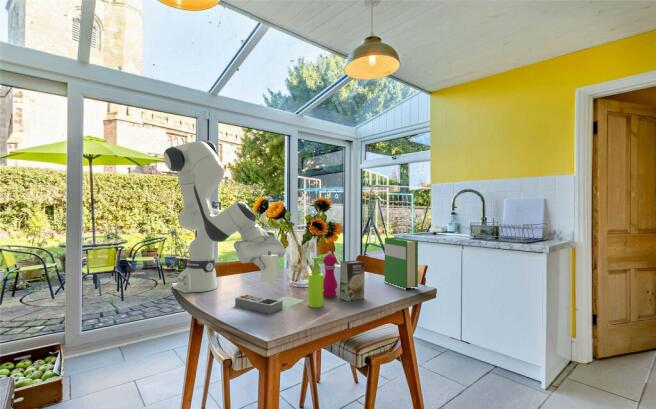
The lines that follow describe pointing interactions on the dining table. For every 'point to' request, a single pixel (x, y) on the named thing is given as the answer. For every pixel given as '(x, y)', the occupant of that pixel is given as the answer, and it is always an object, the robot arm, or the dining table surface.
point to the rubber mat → (289, 301)
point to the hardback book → (401, 262)
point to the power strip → (258, 303)
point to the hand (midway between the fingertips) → (270, 267)
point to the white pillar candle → (269, 268)
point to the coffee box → (352, 280)
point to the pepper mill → (329, 276)
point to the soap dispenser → (315, 285)
